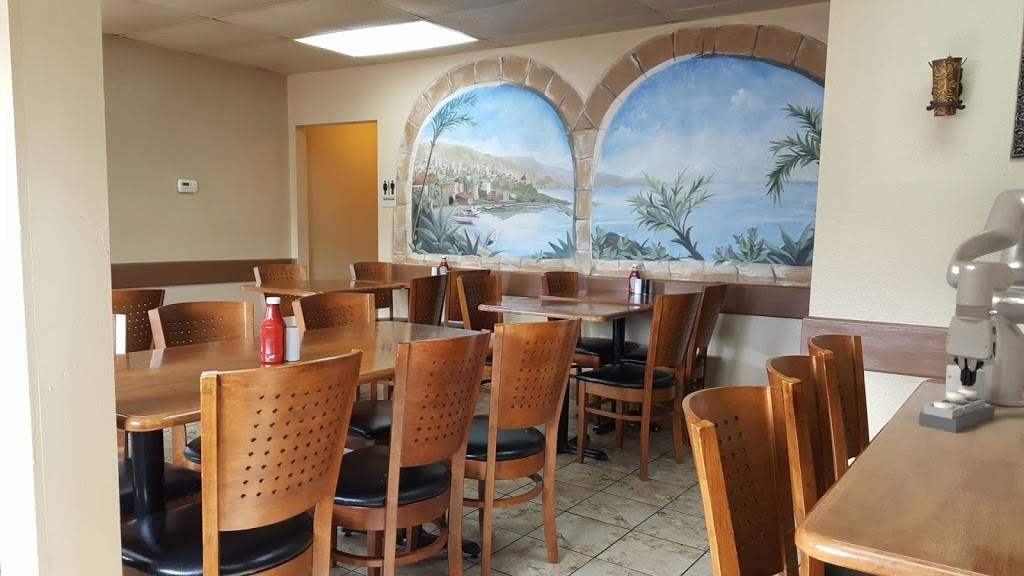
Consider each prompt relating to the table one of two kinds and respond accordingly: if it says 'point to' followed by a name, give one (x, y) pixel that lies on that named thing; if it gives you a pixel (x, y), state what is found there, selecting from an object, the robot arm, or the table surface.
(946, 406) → the button
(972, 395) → the button
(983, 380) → the small box
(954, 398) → the button middle
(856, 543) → the table surface
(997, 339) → the robot arm
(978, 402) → the button board
